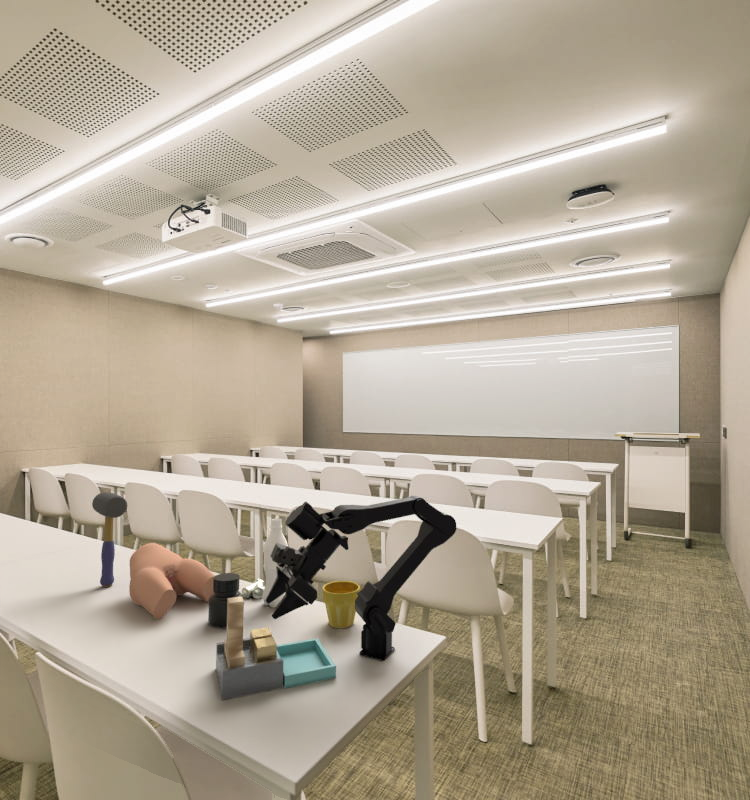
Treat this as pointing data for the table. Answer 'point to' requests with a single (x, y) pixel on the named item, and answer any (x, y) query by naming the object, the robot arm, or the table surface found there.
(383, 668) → the table surface
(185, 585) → the medical training model
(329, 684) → the table surface
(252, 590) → the pipe fitting
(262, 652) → the brass block
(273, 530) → the water bottle
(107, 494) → the rubber mallet
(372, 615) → the robot arm
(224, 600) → the ink bottle
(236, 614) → the light brown t-shaped block
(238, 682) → the grey tray
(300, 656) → the teal tray
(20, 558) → the table surface
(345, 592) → the plant pot
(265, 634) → the brass block
